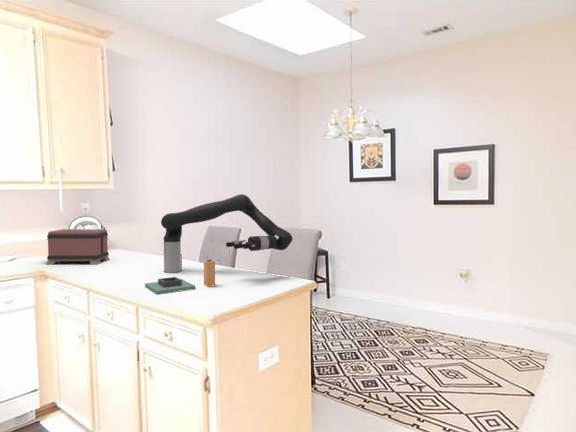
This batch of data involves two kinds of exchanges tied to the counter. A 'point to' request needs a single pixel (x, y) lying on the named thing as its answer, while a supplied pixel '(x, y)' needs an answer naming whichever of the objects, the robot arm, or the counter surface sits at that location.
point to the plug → (209, 273)
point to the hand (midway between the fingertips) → (230, 245)
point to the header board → (169, 285)
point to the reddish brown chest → (77, 245)
